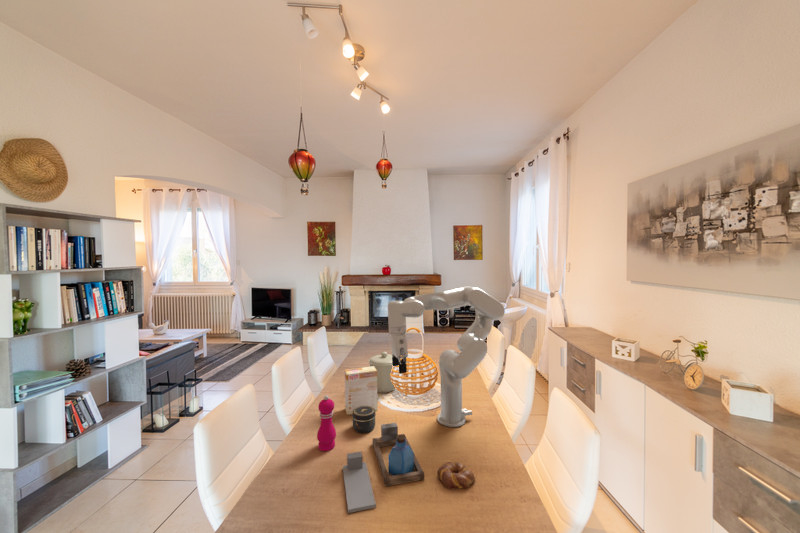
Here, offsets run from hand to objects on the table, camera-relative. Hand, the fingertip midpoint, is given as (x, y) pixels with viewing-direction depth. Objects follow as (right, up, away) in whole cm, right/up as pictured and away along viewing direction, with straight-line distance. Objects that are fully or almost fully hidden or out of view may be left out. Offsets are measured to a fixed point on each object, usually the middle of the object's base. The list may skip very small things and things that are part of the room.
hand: (399, 369), depth 136 cm
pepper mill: (-28, -26, -13) cm, 41 cm away
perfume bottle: (+1, -26, -28) cm, 38 cm away
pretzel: (+19, -26, -31) cm, 45 cm away
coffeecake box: (-19, -26, +17) cm, 36 cm away
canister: (-8, -25, +42) cm, 49 cm away
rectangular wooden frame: (-1, -26, -22) cm, 34 cm away
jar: (-15, -26, +1) cm, 30 cm away
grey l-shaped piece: (-13, -26, -35) cm, 46 cm away
